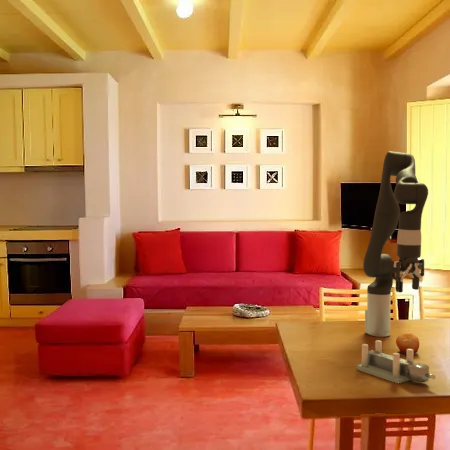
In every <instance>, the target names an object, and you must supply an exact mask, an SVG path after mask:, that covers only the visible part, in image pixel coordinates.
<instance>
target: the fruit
mask: <svg viewBox="0 0 450 450" xmlns="http://www.w3.org/2000/svg"><path fill="white" fill-rule="evenodd" d="M395 339H396V340H395V344H396V346H397V348H398V350H399V352H400V353H401V354H404V355H407V349H413V355H415V354H417V353H418V351H419V349H420V339H419V337H418V336H416V335H415V334H413V333H412V332H405V333H401V334H399V335H398V336H396V338H395Z"/></svg>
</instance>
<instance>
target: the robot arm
mask: <svg viewBox="0 0 450 450" xmlns="http://www.w3.org/2000/svg"><path fill="white" fill-rule="evenodd" d="M415 159H416V158H415V157H414V155H412V154H411V153H407V152H400V151H390V150H389V151H388V152H386V154H385V155H384V159H383V164H382V165H383V167H382V172H381V179H380V189H379V194H378V197H377V203H376V207H375V212H374V216H373V217H374V218H373V222H372V223H373V224H372V229H371V233H370V238H369V242H368V245H367V249H366V251H365V254H364V258H363V263H362V265H363V267H362V268H363V272H364V274H365V275H366V276H367V277H369V278H375V279H374V280H373V281H372V282H371V283H370V284H368V285H367V290H366V291H367V293H366V295H367V296H366V297H367V298H366V301H367V302H366V303H367V304H366V308H367V309H366V310H365V311H364V334H365V333H366V334H367V335H369V336H372V337H380V338H381V337H382V338H383V337H389V336H390V335H391V303H392V302H391V292H392V289H393V285H394V281H395V288H394V289H395V291H396V293H403V291H404V288H403V287H404V279H405V277H407V276H408V274H411V276H412V280H411V288H412V289H413V290H414V291H415V290H416V291H417V290H419V289H420V279H421V278H422V277H424V276H425V258H421V256H422V252H421V251H422V230H421V229H422V217H423V211H424V208H425V204H426V202H427V199H428V195H429V189H428V187H427V185H426V184H425V183H422V182H419V181H418V179H417V176H416V160H415ZM391 176H392V177H395V184H396V186H395V188H394V191H393V188H392V184H391ZM400 205H414V207H413V208H412V209H410V210H406V211H401V208H400ZM397 226H398V230H397V241H396V243H397V244H396V256H397V257H398V258H399V260H398V261H395V260H393V259H392V257H391V256H390V254H387V253H383V250H384V247H385V244H386V243H387V242H388V240H389V239H390V238H391V236H392V235H393V233H394V232H395V230H396V229H397Z"/></svg>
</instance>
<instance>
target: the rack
mask: <svg viewBox="0 0 450 450" xmlns="http://www.w3.org/2000/svg"><path fill="white" fill-rule="evenodd" d="M374 343H375V346H374V347H375V350H374V351H378V352H381V353H383V352H382V349H383V347H382V345H383V341H382V340H379V339H378V340H377V339H376V340H375V342H374ZM368 351H369V344H367V343H362V344H361V363H360V364H356V370H358V371H360V372H362V373H366V374H369V375H372V376H374V377H378V378H380V379H384V380H386V381H389V382H392V383H394V382H395V384H397V383H398V385H400V384H402V382H403V383H404V382H405V383H406V382H408V381H410V380H409V379H408V378H407V377H404V376H401V375H400V357H401V354H400V353H398V352H393V353H392V356H393V373H392V372H389V371H386V370H383V369H380V368H377V367H374V366H371V365H368ZM406 360H408V361H411V362H414V354H413V349H407V354H406ZM399 383H400V384H399Z"/></svg>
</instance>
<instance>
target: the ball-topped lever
mask: <svg viewBox="0 0 450 450" xmlns="http://www.w3.org/2000/svg"><path fill="white" fill-rule="evenodd" d="M368 365H371V366H374V367H377V368H380V369H383V370H386V371H389V372H392V373H393V355H391V354H388V353H383V352H382V353H381V352H378V351H375V350H374V349H371V350H368ZM400 375H401V376H404V377H407V378H408V379H409V380H408V381H412V382H416V383H427V382H429V381H430V379H432V380H436V375H434V374H432V373H430V366H429V365H428V364H427V363H426V364H425V363H424V362H423V363H421V362H414V361H413V362H411V361H408V360H407V359H404V358H400Z"/></svg>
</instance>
